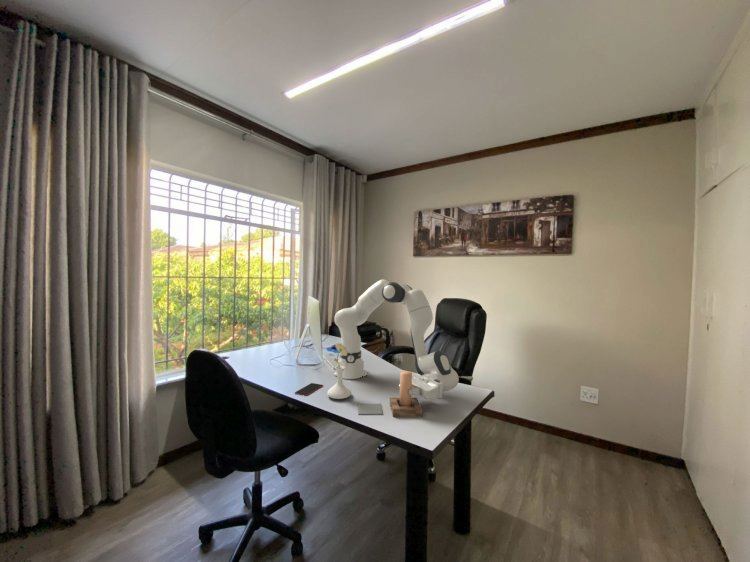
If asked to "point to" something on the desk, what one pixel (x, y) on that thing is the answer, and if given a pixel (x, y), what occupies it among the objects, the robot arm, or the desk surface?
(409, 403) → the peg
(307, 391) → the smartphone
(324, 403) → the desk surface
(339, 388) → the flower in vase
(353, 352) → the robot arm
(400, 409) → the holder
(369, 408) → the mat
